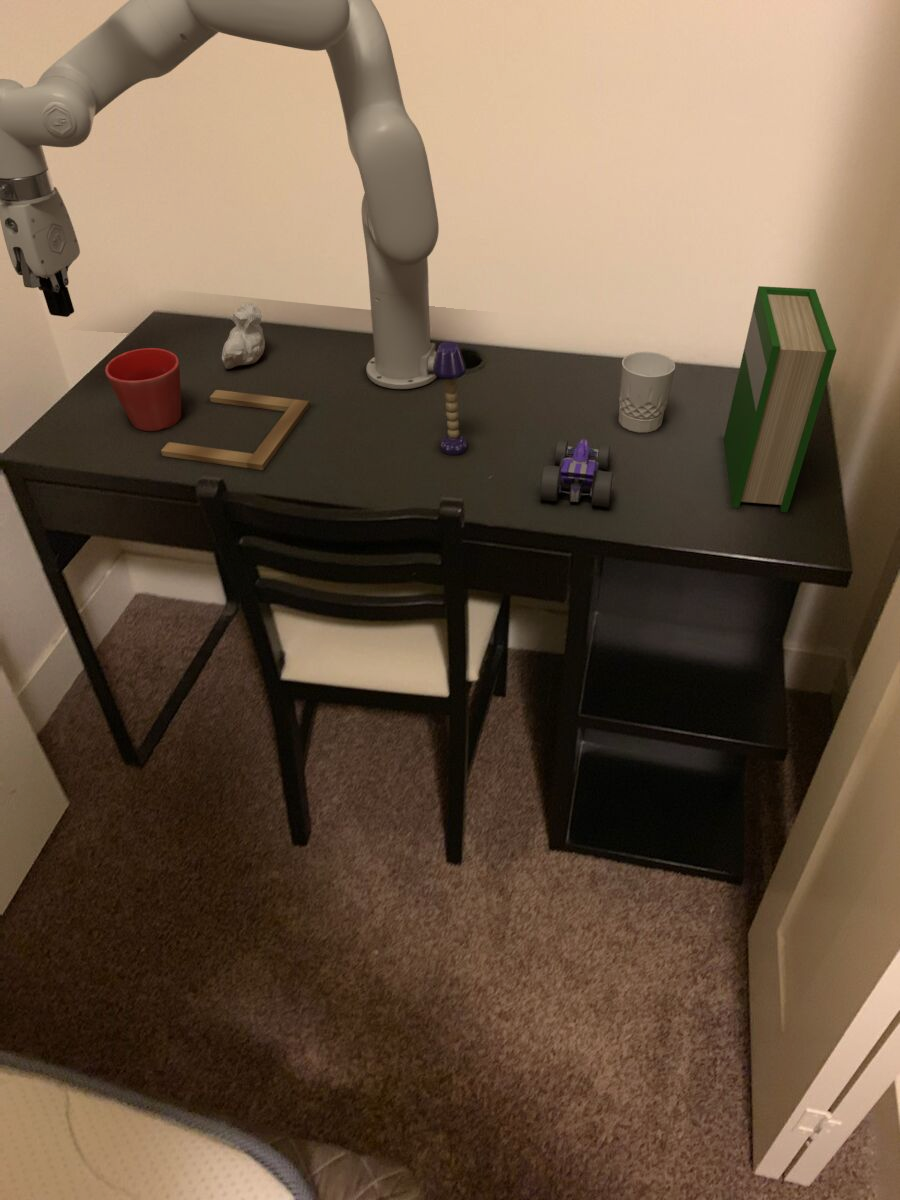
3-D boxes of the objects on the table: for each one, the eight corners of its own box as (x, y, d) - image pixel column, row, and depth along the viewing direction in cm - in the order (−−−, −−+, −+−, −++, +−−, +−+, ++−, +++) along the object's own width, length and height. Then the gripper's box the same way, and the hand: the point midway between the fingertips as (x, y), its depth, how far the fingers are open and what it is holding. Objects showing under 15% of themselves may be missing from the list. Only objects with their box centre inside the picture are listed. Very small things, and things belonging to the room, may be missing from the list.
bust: (236, 387, 154) (266, 343, 147) (199, 359, 152) (227, 313, 145) (263, 356, 163) (292, 312, 156) (228, 328, 161) (256, 283, 154)
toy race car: (615, 454, 133) (620, 416, 129) (607, 514, 123) (612, 474, 118) (551, 448, 135) (554, 410, 130) (538, 506, 124) (541, 467, 120)
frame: (310, 406, 145) (309, 400, 144) (263, 470, 132) (262, 464, 131) (217, 394, 148) (216, 389, 148) (162, 456, 135) (160, 450, 134)
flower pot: (174, 440, 138) (160, 383, 131) (109, 433, 140) (92, 377, 133) (202, 405, 146) (189, 350, 139) (140, 399, 147) (124, 345, 141)
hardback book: (787, 512, 122) (836, 350, 106) (732, 507, 123) (772, 346, 107) (773, 443, 135) (815, 289, 119) (723, 439, 136) (758, 286, 120)
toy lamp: (444, 459, 133) (442, 356, 122) (430, 444, 136) (427, 342, 125) (472, 450, 135) (473, 348, 123) (458, 436, 138) (457, 334, 127)
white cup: (670, 415, 142) (681, 357, 135) (657, 439, 136) (667, 380, 130) (622, 405, 144) (630, 347, 137) (608, 428, 139) (615, 370, 132)
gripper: (14, 205, 115) (56, 338, 128) (78, 170, 126) (111, 296, 138) (-36, 200, 117) (10, 332, 129) (31, 166, 127) (68, 291, 140)
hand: (62, 313), depth 134 cm, fingers closed
